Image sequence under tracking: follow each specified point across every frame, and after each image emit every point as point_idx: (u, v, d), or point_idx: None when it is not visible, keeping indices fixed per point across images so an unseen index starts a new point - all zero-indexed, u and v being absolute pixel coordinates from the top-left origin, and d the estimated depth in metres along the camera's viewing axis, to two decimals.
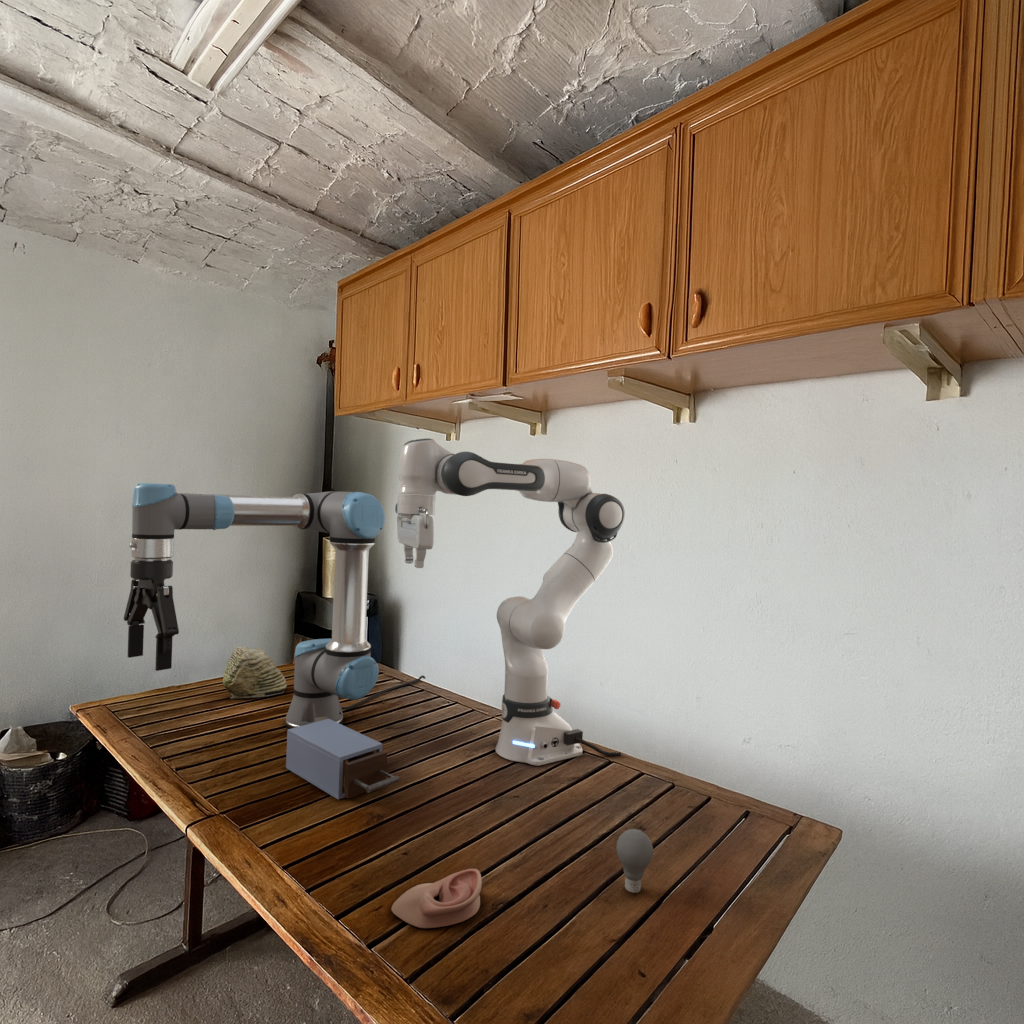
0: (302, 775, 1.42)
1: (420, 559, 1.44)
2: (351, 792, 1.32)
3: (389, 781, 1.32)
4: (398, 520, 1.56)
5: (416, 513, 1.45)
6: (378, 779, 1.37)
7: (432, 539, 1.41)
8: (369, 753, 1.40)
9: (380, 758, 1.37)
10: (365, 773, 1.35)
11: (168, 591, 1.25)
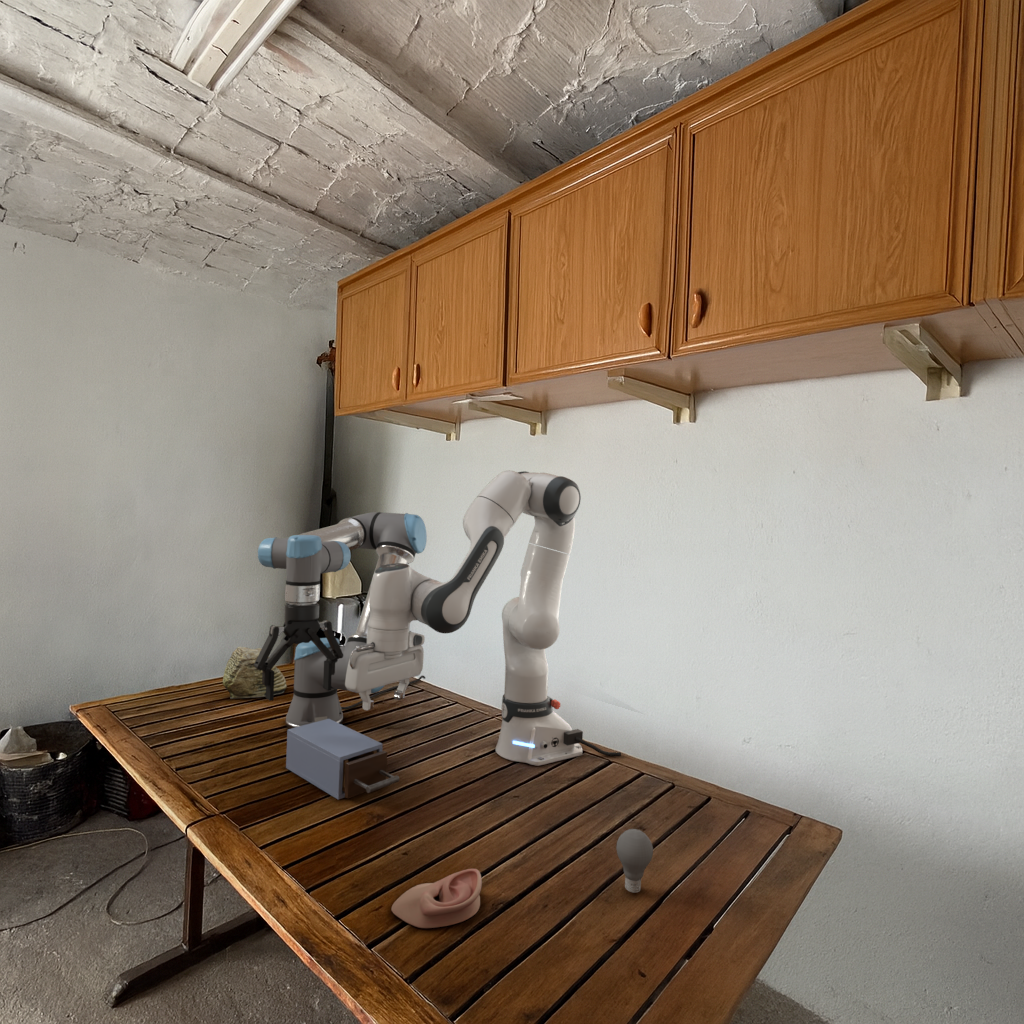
0: (302, 775, 1.42)
1: (365, 700, 1.31)
2: (351, 792, 1.32)
3: (389, 781, 1.32)
4: None
5: None
6: (378, 779, 1.37)
7: (356, 682, 1.26)
8: (369, 753, 1.40)
9: (380, 758, 1.37)
10: (365, 773, 1.35)
11: None
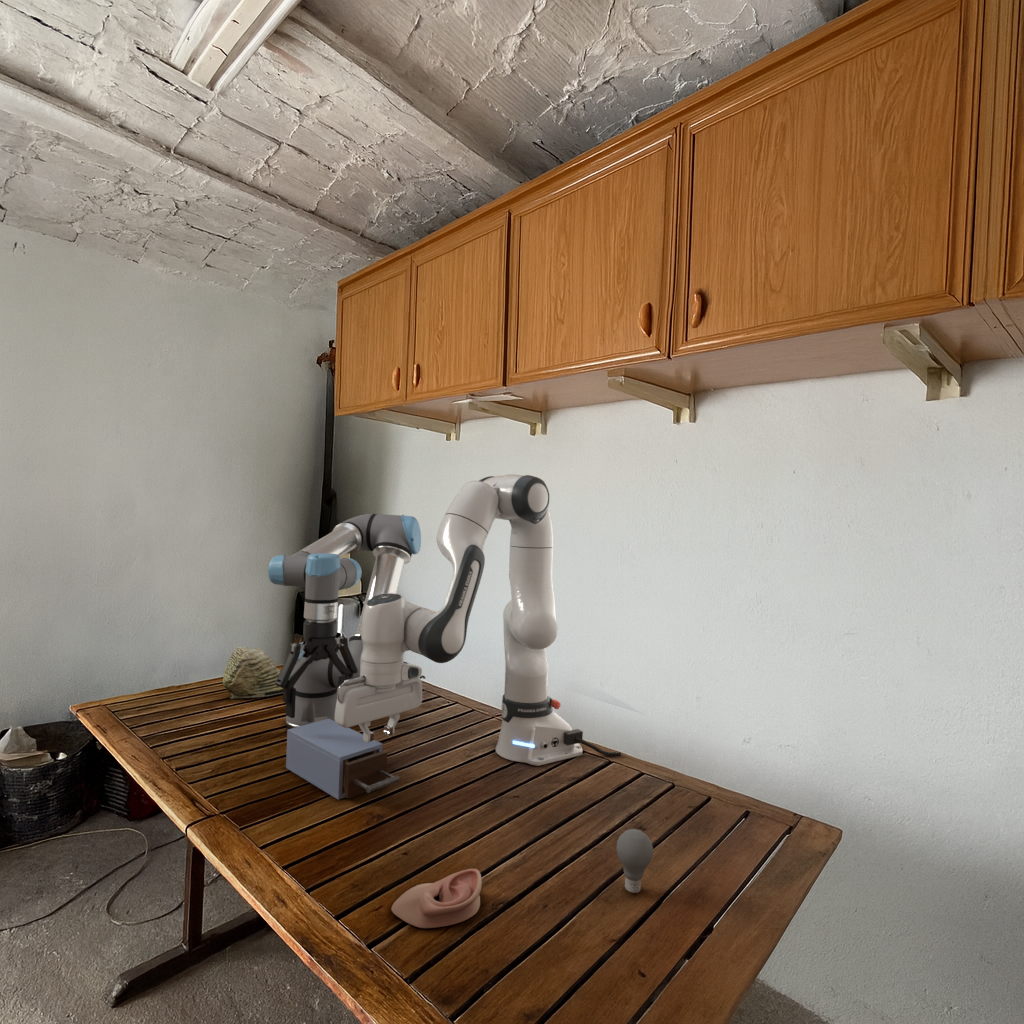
0: (302, 775, 1.42)
1: (365, 732, 1.30)
2: (351, 792, 1.32)
3: (389, 781, 1.32)
4: None
5: None
6: (378, 779, 1.37)
7: (343, 717, 1.24)
8: (369, 753, 1.40)
9: (380, 758, 1.37)
10: (365, 773, 1.35)
11: None
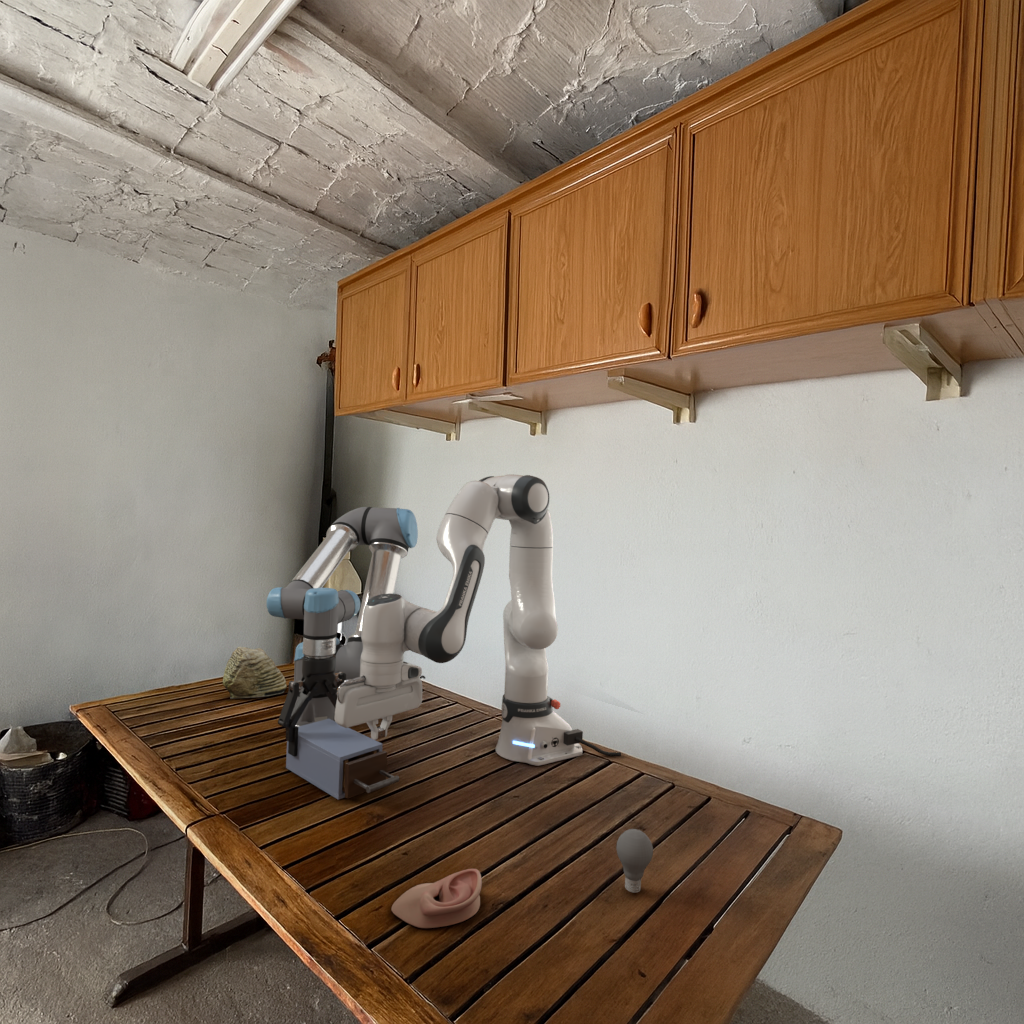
0: (302, 775, 1.42)
1: (372, 730, 1.32)
2: (351, 792, 1.32)
3: (389, 781, 1.32)
4: None
5: None
6: (378, 779, 1.37)
7: (343, 717, 1.24)
8: (369, 753, 1.40)
9: (380, 758, 1.37)
10: (365, 773, 1.35)
11: None
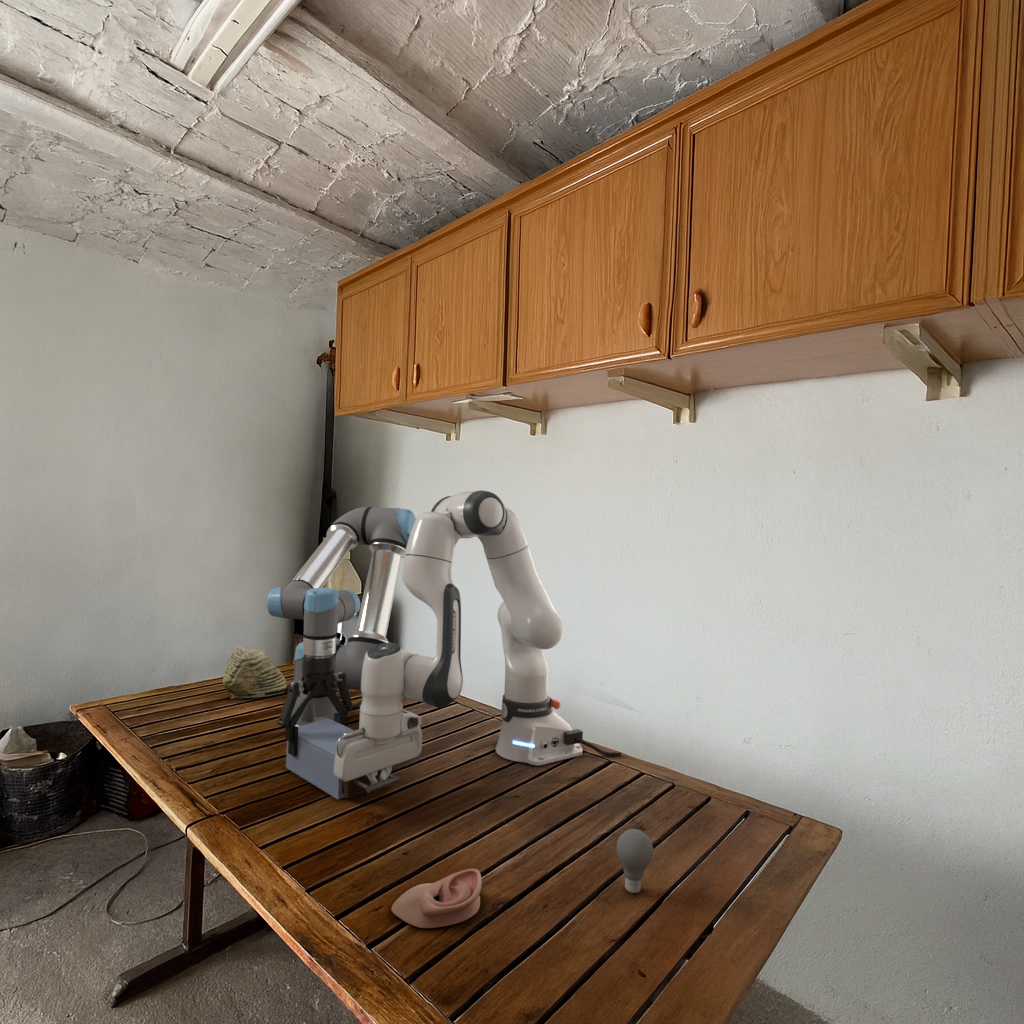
0: (302, 775, 1.42)
1: (372, 781, 1.31)
2: (350, 792, 1.32)
3: (389, 781, 1.32)
4: None
5: None
6: None
7: (342, 771, 1.24)
8: None
9: None
10: None
11: None
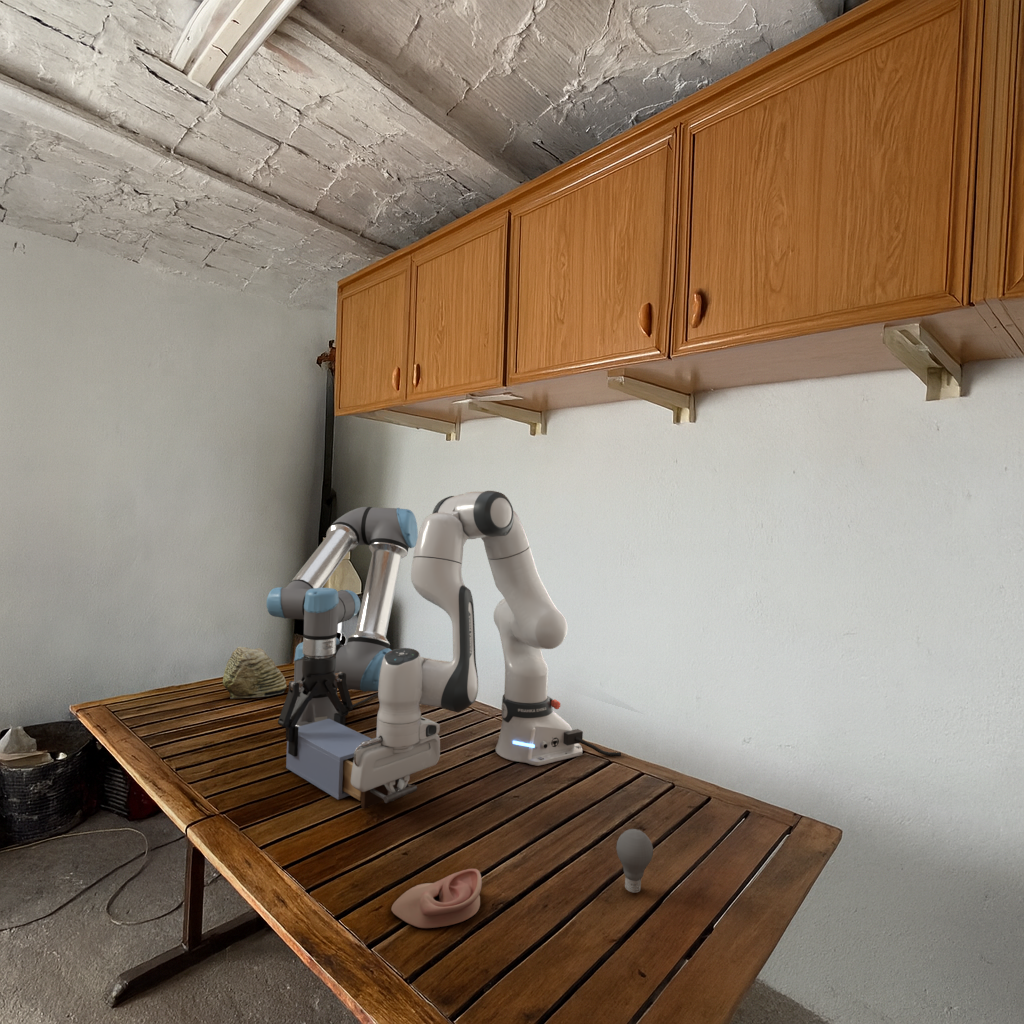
0: (302, 775, 1.42)
1: (389, 791, 1.28)
2: (367, 801, 1.28)
3: (407, 790, 1.28)
4: None
5: None
6: None
7: (360, 781, 1.20)
8: None
9: None
10: None
11: None
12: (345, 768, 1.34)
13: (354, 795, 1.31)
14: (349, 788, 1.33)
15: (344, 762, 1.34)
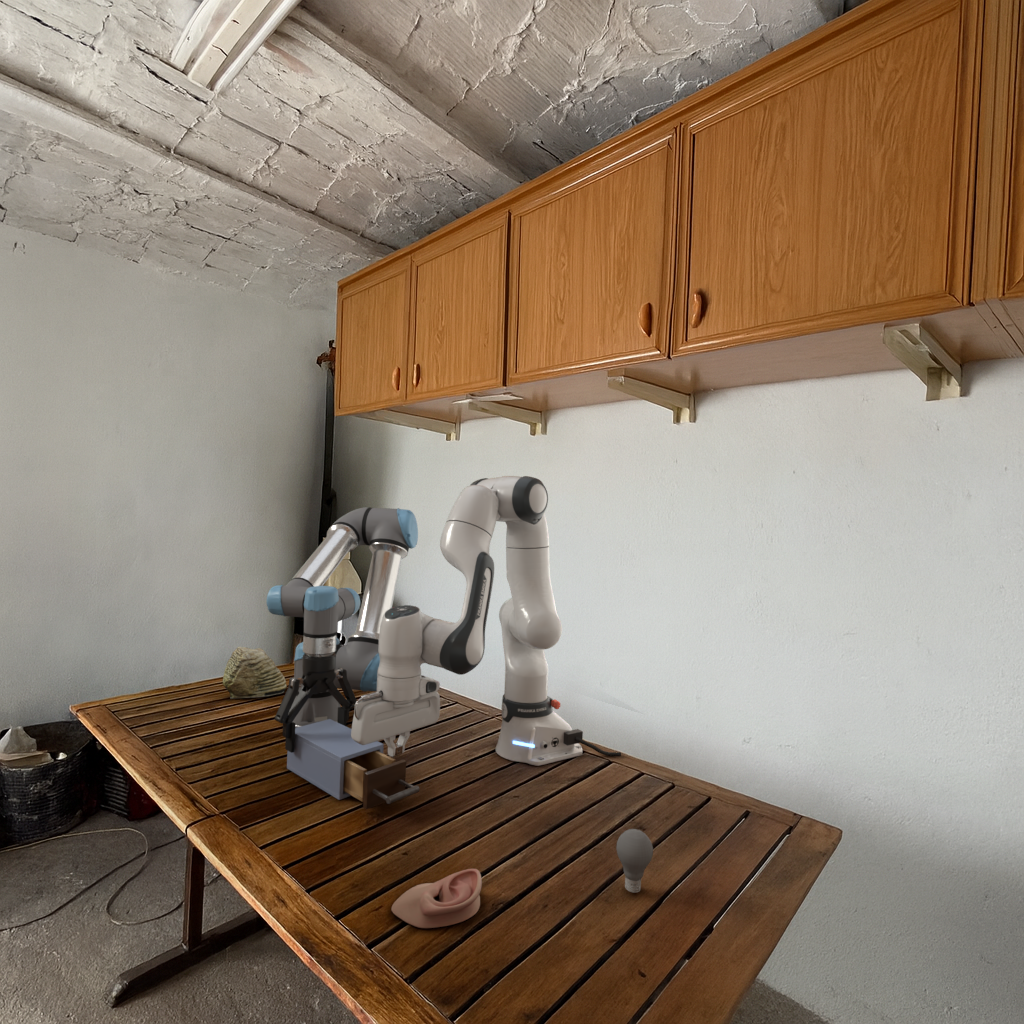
0: (303, 775, 1.42)
1: (390, 746, 1.28)
2: (369, 802, 1.28)
3: (409, 791, 1.28)
4: None
5: None
6: (397, 789, 1.33)
7: (360, 734, 1.21)
8: (387, 762, 1.36)
9: (399, 767, 1.33)
10: (384, 783, 1.30)
11: None
12: (347, 769, 1.33)
13: (356, 795, 1.31)
14: (351, 789, 1.32)
15: (346, 762, 1.33)
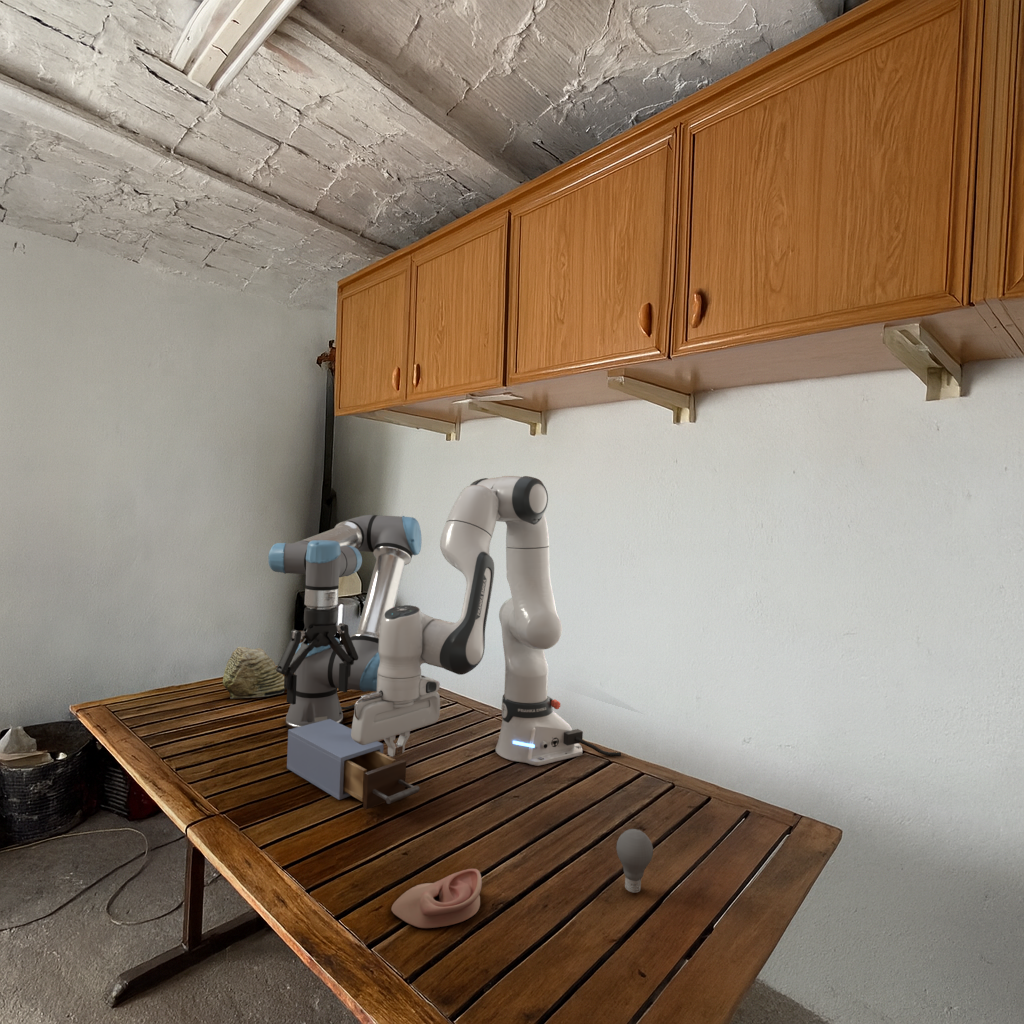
0: (303, 775, 1.42)
1: (390, 746, 1.28)
2: (369, 802, 1.28)
3: (409, 791, 1.28)
4: None
5: None
6: (397, 789, 1.33)
7: (360, 734, 1.21)
8: (387, 762, 1.36)
9: (399, 767, 1.33)
10: (384, 783, 1.30)
11: None
12: (347, 769, 1.33)
13: (356, 795, 1.31)
14: (351, 789, 1.32)
15: (346, 762, 1.33)
